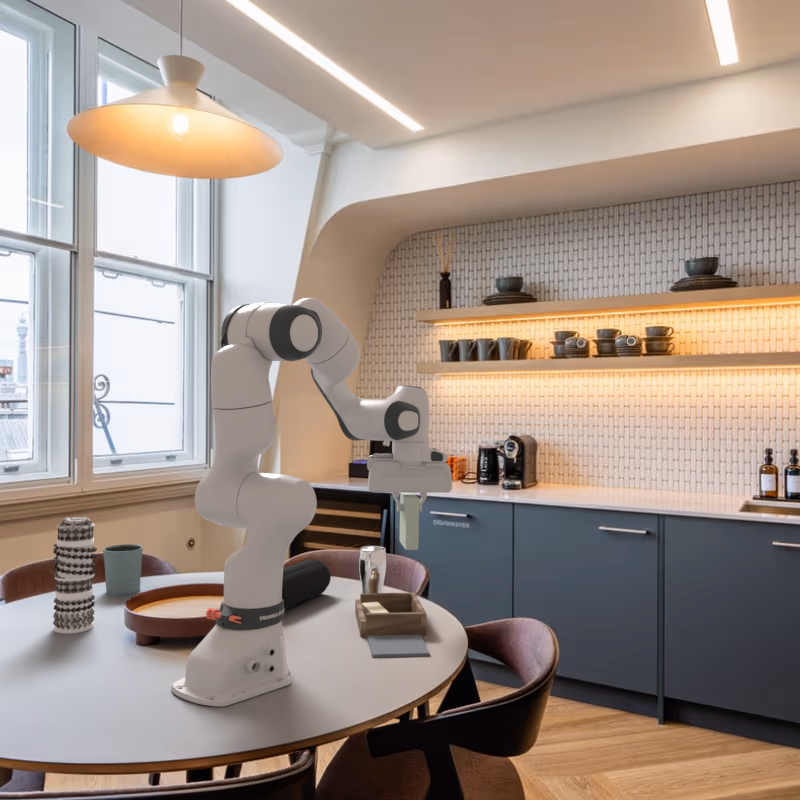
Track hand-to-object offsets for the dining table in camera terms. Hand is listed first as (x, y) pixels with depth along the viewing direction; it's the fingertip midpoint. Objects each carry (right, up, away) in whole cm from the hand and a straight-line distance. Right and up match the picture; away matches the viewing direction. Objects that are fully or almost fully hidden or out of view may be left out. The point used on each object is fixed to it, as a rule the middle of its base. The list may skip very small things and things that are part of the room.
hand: (409, 511), depth 172 cm
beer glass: (-10, -27, +14) cm, 32 cm away
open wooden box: (-5, -27, -1) cm, 27 cm away
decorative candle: (-77, -26, -8) cm, 82 cm away
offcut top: (-8, -25, -1) cm, 27 cm away
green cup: (-78, -26, +24) cm, 86 cm away
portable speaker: (-30, -27, +15) cm, 43 cm away
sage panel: (0, -8, 0) cm, 8 cm away
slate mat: (-3, -27, -16) cm, 32 cm away
